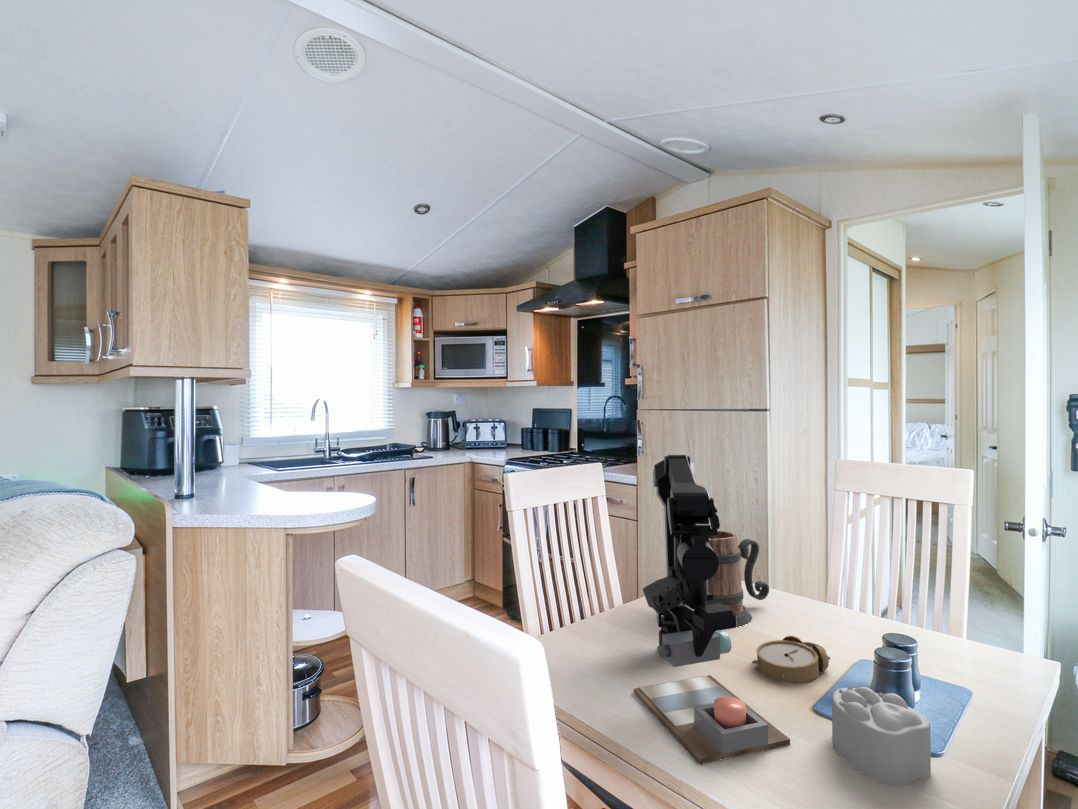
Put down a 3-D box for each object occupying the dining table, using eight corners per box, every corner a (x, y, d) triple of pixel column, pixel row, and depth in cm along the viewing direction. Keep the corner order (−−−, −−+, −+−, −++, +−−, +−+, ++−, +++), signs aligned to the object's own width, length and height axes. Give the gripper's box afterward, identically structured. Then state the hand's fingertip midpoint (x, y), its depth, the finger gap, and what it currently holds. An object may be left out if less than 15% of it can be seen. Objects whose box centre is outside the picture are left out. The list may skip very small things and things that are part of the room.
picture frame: (710, 679, 113) (709, 673, 112) (790, 744, 91) (790, 737, 91) (633, 692, 108) (633, 687, 108) (699, 764, 87) (699, 757, 87)
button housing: (736, 716, 98) (736, 699, 98) (768, 744, 90) (768, 724, 90) (694, 725, 96) (693, 707, 96) (723, 754, 88) (722, 734, 88)
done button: (733, 712, 96) (733, 694, 96) (752, 728, 91) (752, 709, 91) (708, 717, 95) (707, 699, 94) (725, 734, 90) (725, 714, 90)
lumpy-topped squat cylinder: (886, 790, 81) (885, 728, 81) (814, 738, 93) (813, 684, 93) (941, 773, 84) (941, 713, 84) (864, 725, 96) (864, 673, 96)
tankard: (706, 632, 134) (705, 545, 134) (667, 607, 150) (666, 529, 150) (790, 618, 142) (789, 536, 141) (745, 596, 158) (744, 521, 157)
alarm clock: (743, 651, 118) (793, 623, 125) (746, 674, 119) (796, 645, 125) (790, 674, 108) (842, 643, 115) (793, 699, 109) (845, 666, 115)
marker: (718, 647, 107) (718, 626, 107) (731, 657, 103) (731, 634, 103) (655, 658, 104) (655, 635, 104) (666, 668, 100) (666, 644, 100)
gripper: (625, 553, 110) (627, 636, 110) (677, 584, 92) (678, 683, 92) (679, 547, 113) (680, 628, 113) (738, 576, 95) (739, 672, 95)
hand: (691, 651), depth 103 cm, fingers closed on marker, 4 cm apart
